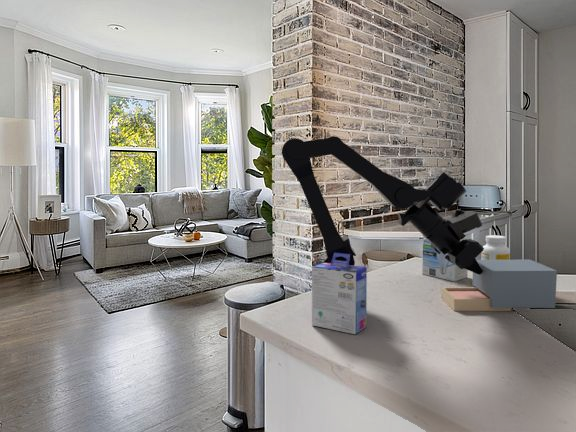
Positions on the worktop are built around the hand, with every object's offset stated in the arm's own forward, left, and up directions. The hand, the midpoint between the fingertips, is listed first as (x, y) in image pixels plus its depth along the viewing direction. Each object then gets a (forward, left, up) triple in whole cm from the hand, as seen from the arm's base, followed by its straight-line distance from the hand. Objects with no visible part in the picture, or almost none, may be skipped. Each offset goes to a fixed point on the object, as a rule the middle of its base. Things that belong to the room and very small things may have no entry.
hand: (480, 272), depth 92 cm
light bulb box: (+12, +22, -7) cm, 26 cm away
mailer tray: (-1, +1, -7) cm, 7 cm away
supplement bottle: (+16, +9, -7) cm, 20 cm away
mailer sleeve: (+6, -3, -7) cm, 10 cm away
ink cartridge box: (-35, +5, -7) cm, 36 cm away
